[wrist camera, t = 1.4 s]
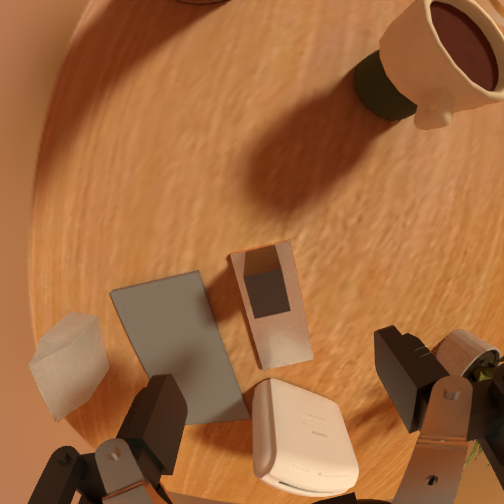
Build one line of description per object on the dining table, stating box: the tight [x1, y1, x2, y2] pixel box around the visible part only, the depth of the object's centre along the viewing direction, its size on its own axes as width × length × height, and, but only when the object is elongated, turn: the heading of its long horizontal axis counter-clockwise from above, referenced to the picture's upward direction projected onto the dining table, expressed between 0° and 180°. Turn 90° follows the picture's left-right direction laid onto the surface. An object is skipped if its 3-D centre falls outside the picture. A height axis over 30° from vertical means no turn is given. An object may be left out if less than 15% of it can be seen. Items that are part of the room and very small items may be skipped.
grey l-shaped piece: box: [230, 239, 313, 370], centre depth 23 cm, size 12×5×7 cm, turn 14°
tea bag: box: [29, 312, 110, 422], centre depth 22 cm, size 4×7×10 cm, turn 179°
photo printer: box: [252, 378, 359, 497], centre depth 23 cm, size 10×4×12 cm, turn 58°
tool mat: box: [110, 270, 250, 425], centre depth 27 cm, size 18×9×1 cm, turn 14°
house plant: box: [436, 329, 504, 468], centre depth 20 cm, size 14×14×16 cm
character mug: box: [353, 0, 504, 130], centre depth 14 cm, size 11×7×13 cm, turn 161°
